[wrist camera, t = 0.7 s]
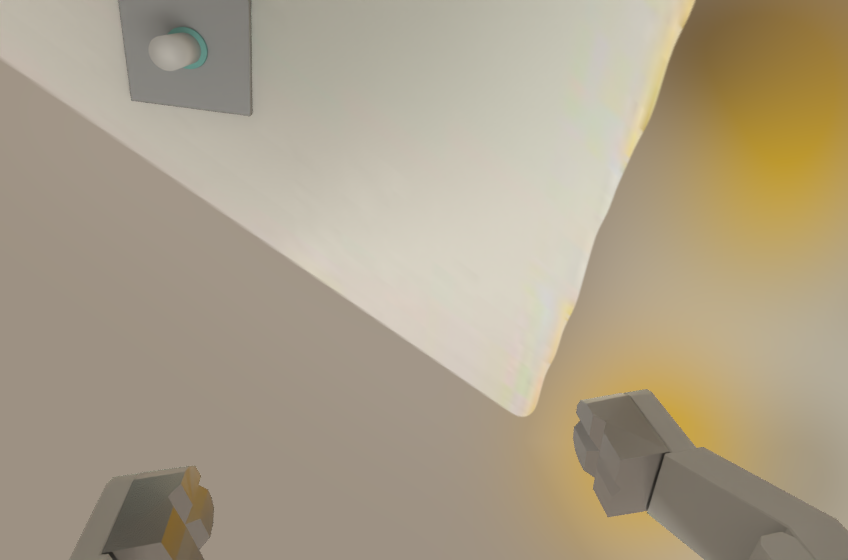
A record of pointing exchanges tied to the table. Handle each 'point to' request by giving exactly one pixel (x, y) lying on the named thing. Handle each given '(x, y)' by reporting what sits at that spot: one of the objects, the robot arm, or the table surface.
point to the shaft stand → (189, 53)
